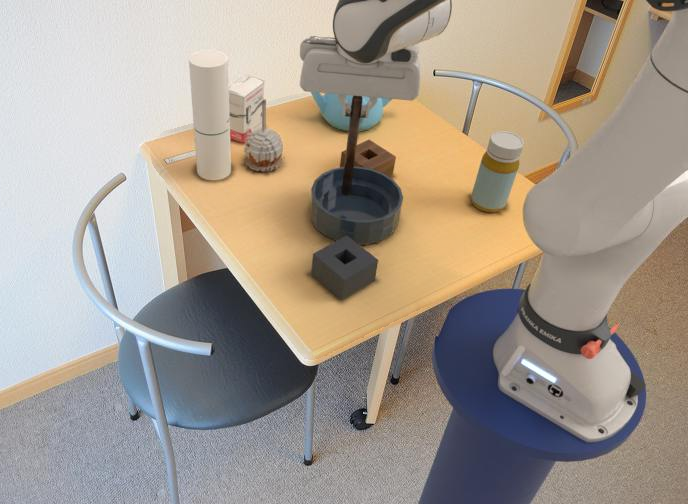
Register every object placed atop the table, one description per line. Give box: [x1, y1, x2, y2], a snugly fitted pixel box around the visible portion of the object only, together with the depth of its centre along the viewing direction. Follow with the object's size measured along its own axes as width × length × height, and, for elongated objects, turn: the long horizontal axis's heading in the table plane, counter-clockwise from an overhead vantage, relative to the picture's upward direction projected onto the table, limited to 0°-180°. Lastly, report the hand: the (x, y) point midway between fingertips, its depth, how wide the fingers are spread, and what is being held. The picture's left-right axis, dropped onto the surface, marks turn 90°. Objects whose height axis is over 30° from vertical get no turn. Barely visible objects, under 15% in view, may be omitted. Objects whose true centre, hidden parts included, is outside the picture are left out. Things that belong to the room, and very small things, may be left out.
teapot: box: [310, 92, 393, 132], centre depth 151 cm, size 15×17×11 cm
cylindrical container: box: [188, 48, 232, 181], centre depth 129 cm, size 7×7×25 cm
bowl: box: [309, 166, 404, 245], centre depth 126 cm, size 17×17×6 cm
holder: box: [339, 139, 397, 178], centre depth 137 cm, size 8×8×5 cm
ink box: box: [229, 74, 265, 144], centre depth 145 cm, size 9×5×12 cm, turn 150°
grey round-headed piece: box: [244, 98, 284, 173], centre depth 135 cm, size 8×8×15 cm
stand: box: [310, 236, 379, 301], centre depth 114 cm, size 8×8×5 cm
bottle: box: [470, 130, 525, 214], centre depth 128 cm, size 7×7×15 cm
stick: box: [341, 96, 363, 196], centre depth 120 cm, size 2×2×22 cm
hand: (355, 115), depth 116 cm, fingers closed on stick, 2 cm apart
